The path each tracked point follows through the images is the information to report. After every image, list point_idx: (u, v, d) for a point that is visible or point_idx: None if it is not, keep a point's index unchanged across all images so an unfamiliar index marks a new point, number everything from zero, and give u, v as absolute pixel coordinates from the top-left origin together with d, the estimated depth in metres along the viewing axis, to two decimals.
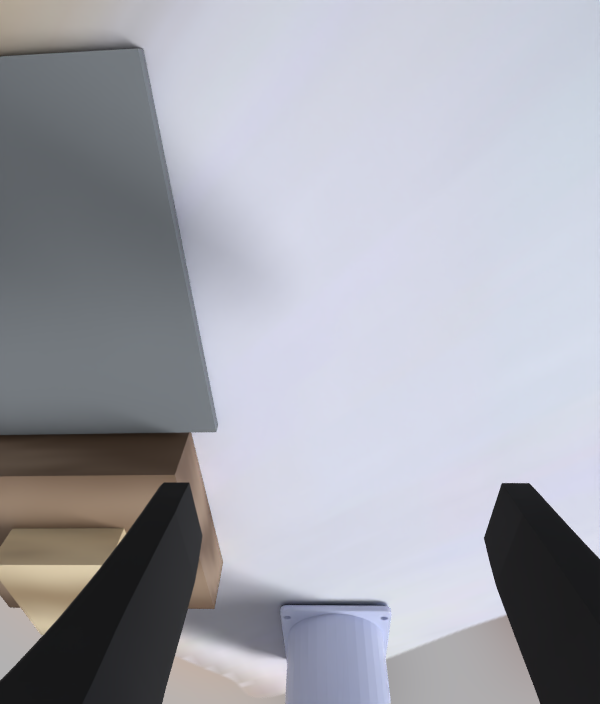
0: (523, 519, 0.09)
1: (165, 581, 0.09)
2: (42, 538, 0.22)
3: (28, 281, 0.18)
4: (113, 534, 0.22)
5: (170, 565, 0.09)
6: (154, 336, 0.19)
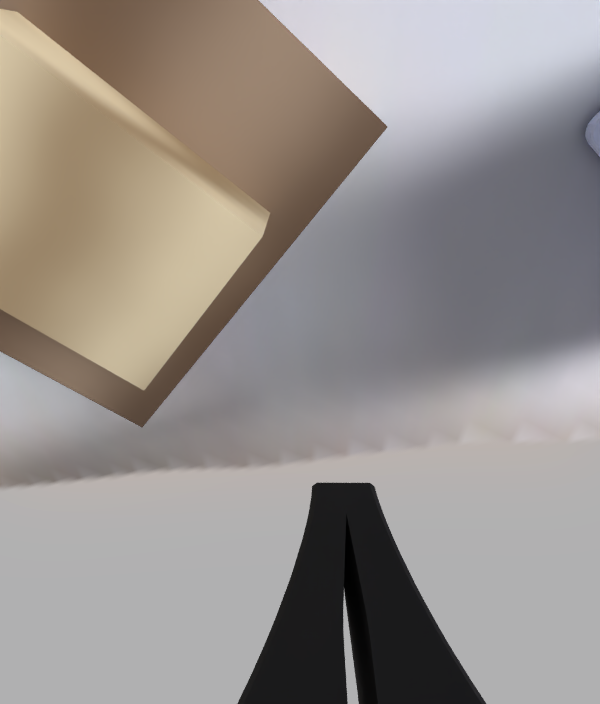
0: None
1: None
2: None
3: None
4: None
5: None
6: None
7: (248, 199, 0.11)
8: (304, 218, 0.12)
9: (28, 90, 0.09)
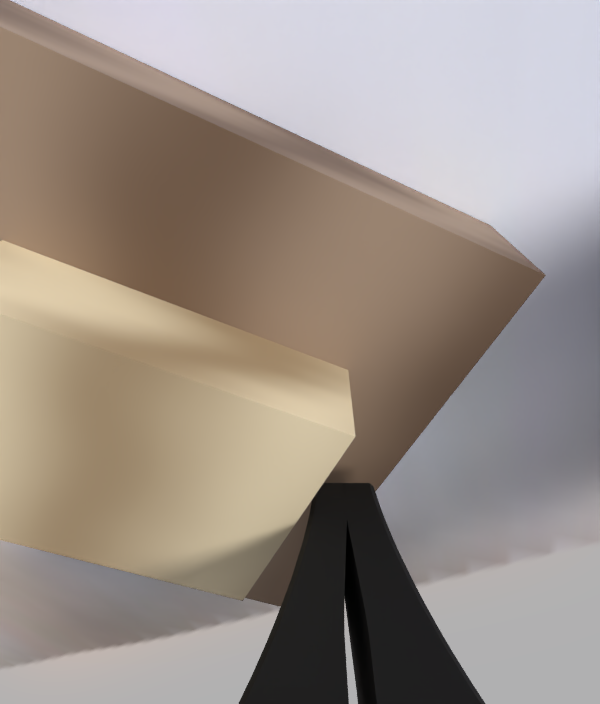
0: None
1: None
2: None
3: None
4: None
5: None
6: None
7: (319, 367, 0.09)
8: (445, 391, 0.10)
9: (29, 353, 0.07)
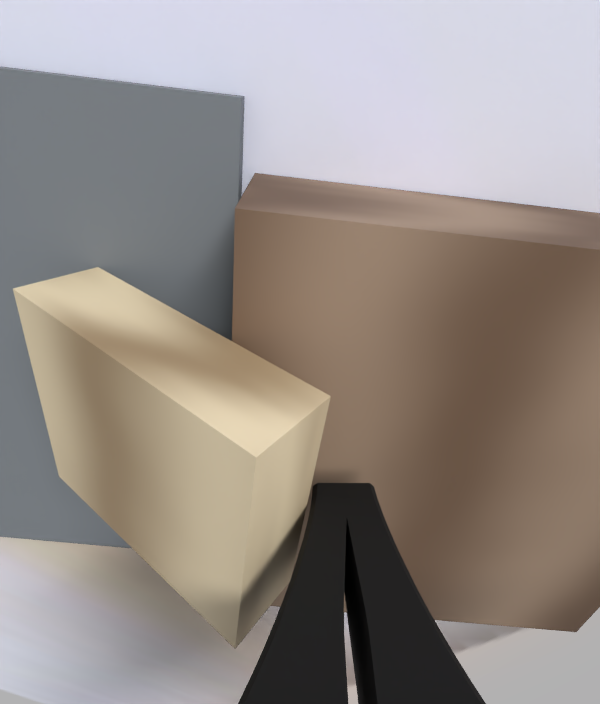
0: None
1: None
2: None
3: None
4: None
5: None
6: None
7: (290, 386, 0.08)
8: None
9: (56, 339, 0.09)
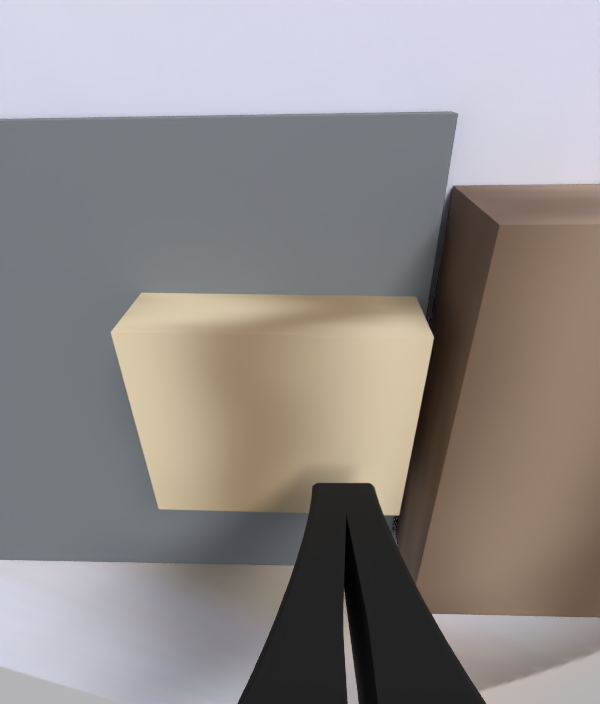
0: None
1: None
2: None
3: (120, 372, 0.13)
4: None
5: None
6: (191, 209, 0.10)
7: (390, 301, 0.11)
8: None
9: (185, 354, 0.10)
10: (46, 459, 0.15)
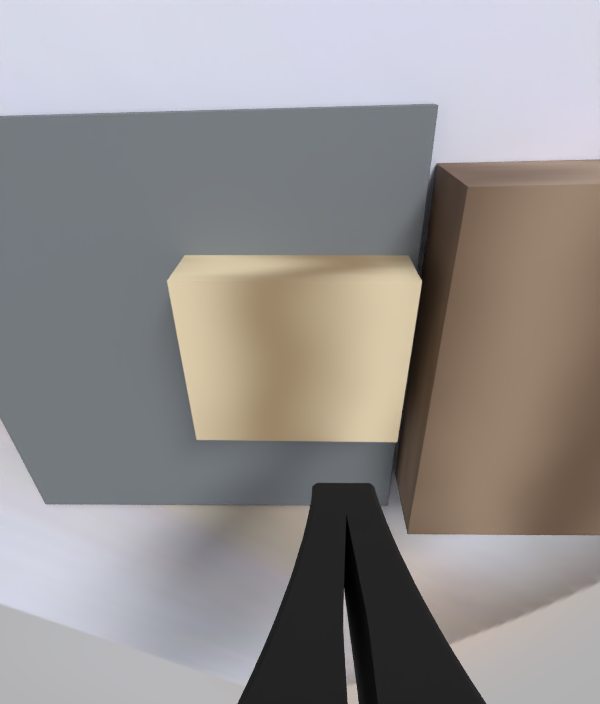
0: None
1: None
2: None
3: (164, 325, 0.15)
4: None
5: None
6: (228, 184, 0.13)
7: (387, 258, 0.13)
8: None
9: (225, 299, 0.12)
10: (96, 406, 0.17)
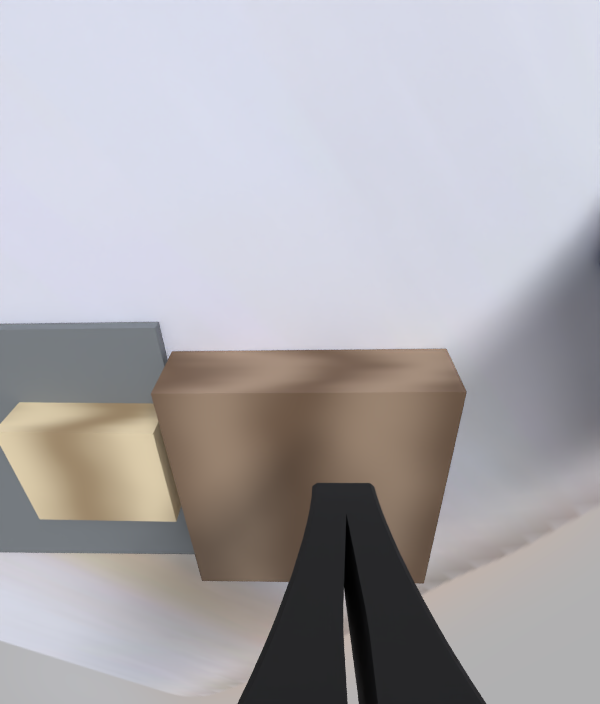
0: None
1: None
2: None
3: None
4: None
5: None
6: (36, 365, 0.19)
7: (149, 407, 0.20)
8: (449, 450, 0.18)
9: (32, 441, 0.19)
10: None
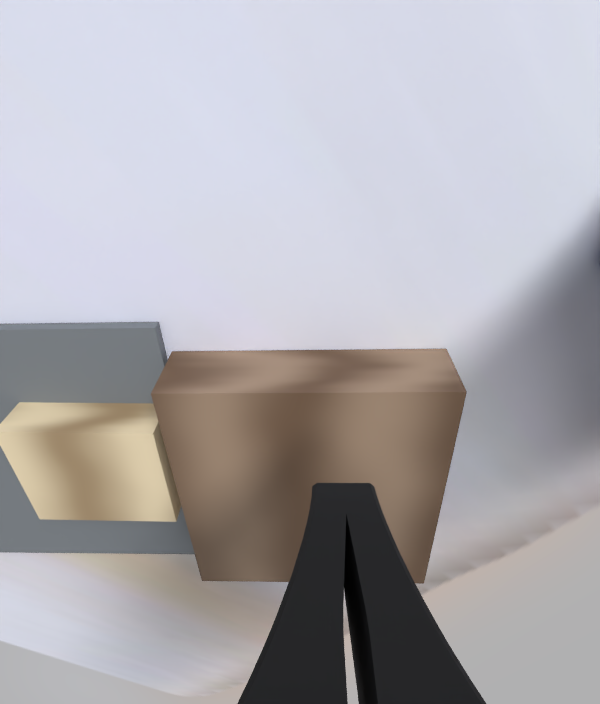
0: None
1: None
2: None
3: None
4: None
5: None
6: (36, 365, 0.19)
7: (149, 407, 0.20)
8: (449, 450, 0.18)
9: (32, 441, 0.19)
10: None
